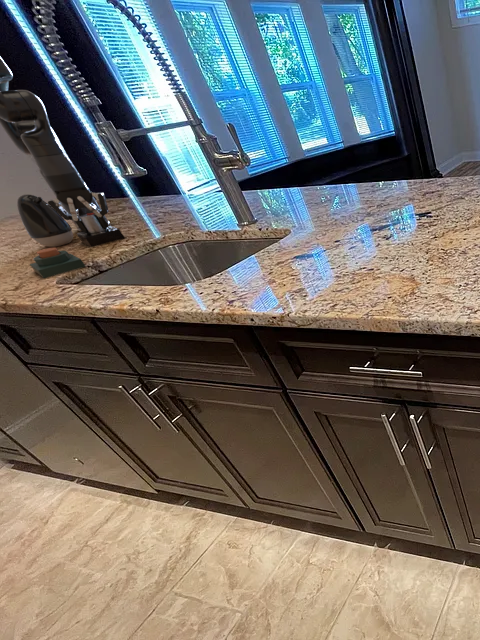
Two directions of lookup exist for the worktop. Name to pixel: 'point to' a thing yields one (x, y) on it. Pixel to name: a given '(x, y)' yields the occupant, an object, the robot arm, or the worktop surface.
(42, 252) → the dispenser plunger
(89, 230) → the faucet dial
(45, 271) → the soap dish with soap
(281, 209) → the worktop surface
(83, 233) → the faucet panel
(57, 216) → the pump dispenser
